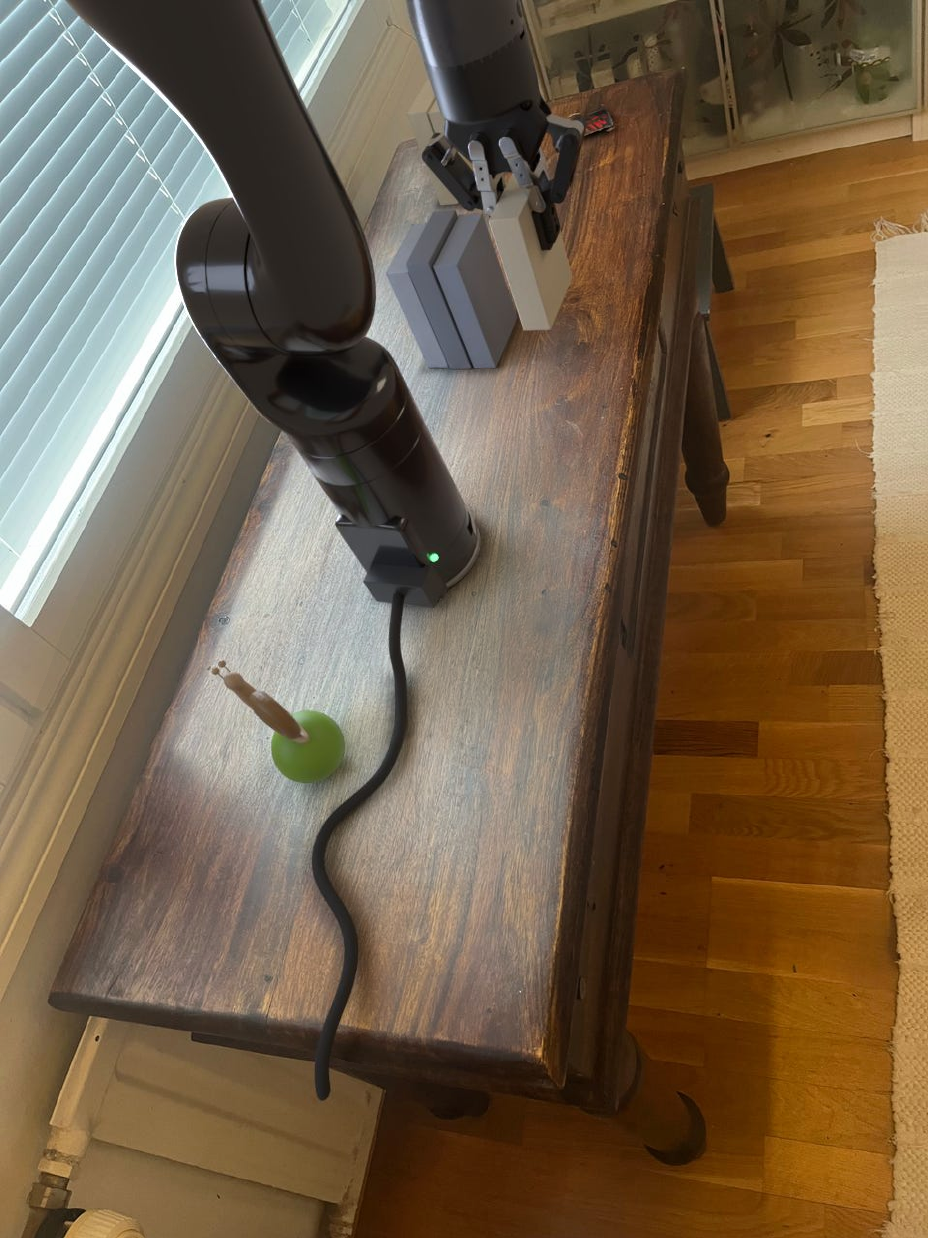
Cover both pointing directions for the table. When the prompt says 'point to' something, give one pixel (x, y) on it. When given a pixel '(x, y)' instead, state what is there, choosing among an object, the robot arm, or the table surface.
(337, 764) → the snail figurine
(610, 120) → the black red flat piece
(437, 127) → the cream books
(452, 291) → the grey books
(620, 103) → the table surface
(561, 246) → the cream book
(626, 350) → the table surface
